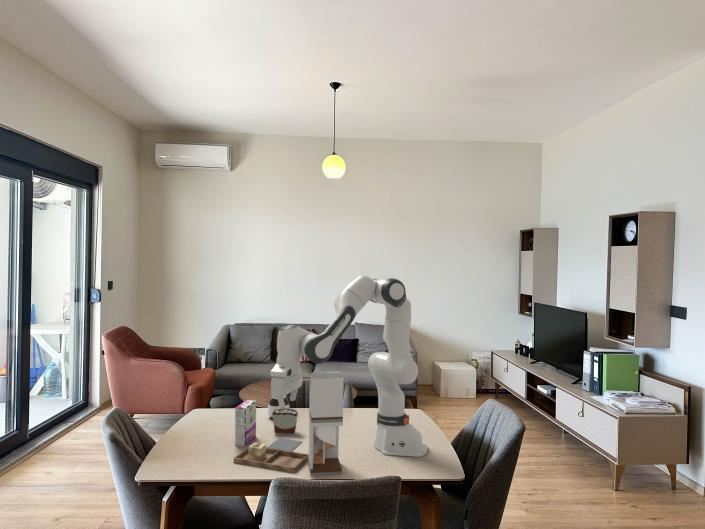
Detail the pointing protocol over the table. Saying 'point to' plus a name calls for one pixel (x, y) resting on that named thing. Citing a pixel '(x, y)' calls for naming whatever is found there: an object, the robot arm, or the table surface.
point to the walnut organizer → (275, 460)
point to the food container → (285, 420)
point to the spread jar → (276, 405)
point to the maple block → (257, 452)
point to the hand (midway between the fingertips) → (287, 403)
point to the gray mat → (285, 444)
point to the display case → (325, 423)
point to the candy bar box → (245, 422)
